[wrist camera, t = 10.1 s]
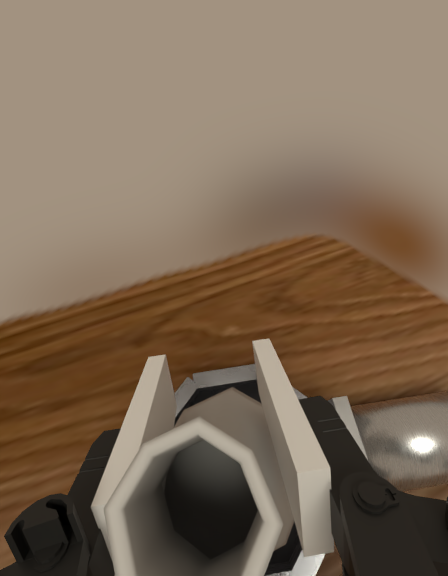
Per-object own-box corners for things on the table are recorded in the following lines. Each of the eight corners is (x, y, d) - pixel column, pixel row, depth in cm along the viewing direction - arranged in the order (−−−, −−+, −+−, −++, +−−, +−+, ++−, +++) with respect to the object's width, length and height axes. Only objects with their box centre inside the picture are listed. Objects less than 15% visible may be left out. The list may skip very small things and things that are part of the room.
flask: (129, 462, 15) (-59, 494, 6) (233, 364, 16) (210, 276, 8) (224, 618, 12) (133, 1160, 3) (337, 477, 14) (494, 544, 5)
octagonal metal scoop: (420, 343, 21) (459, 321, 17) (519, 545, 16) (610, 578, 12) (148, 386, 21) (126, 373, 17) (150, 606, 15) (118, 660, 11)
